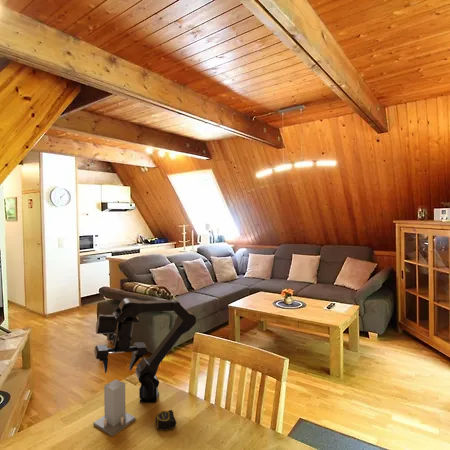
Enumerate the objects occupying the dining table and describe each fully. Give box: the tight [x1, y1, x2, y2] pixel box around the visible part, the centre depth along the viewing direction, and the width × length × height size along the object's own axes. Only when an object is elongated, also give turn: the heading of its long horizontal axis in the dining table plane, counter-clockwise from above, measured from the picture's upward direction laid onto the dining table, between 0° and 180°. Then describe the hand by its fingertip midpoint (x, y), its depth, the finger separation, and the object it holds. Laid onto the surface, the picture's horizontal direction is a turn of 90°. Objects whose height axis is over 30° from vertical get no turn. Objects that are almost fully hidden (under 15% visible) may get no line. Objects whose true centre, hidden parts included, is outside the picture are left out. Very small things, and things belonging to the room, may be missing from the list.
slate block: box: [103, 379, 126, 426], centre depth 114 cm, size 5×5×13 cm
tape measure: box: [154, 409, 177, 431], centre depth 113 cm, size 7×7×4 cm
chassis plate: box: [93, 411, 136, 437], centre depth 114 cm, size 10×10×4 cm
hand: (117, 371), depth 124 cm, fingers open, 9 cm apart
